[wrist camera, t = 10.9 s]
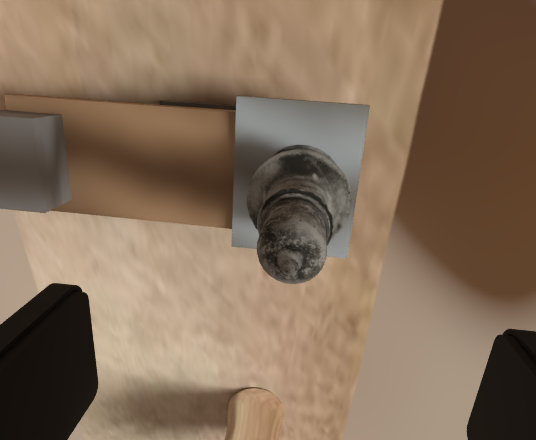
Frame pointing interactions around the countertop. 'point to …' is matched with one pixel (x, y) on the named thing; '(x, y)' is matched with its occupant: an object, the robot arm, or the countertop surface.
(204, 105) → the beam stand
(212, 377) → the countertop surface
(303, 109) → the beam
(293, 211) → the chess piece
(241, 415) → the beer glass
